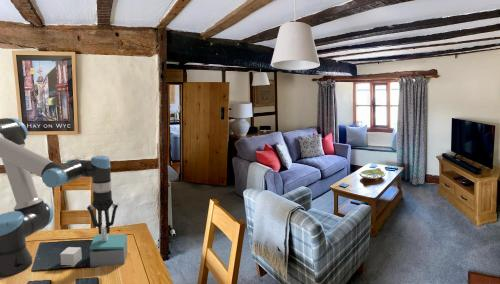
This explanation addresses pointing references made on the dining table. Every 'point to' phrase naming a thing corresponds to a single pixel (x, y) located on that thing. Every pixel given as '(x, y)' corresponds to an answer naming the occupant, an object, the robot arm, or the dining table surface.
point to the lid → (109, 242)
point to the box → (108, 256)
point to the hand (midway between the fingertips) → (104, 240)
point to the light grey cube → (71, 256)
